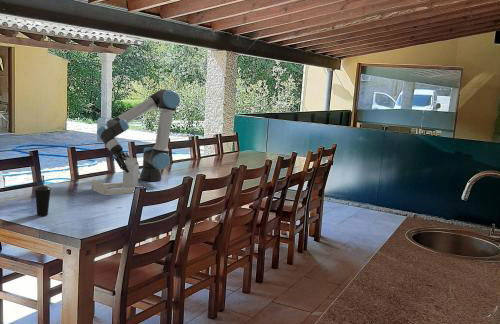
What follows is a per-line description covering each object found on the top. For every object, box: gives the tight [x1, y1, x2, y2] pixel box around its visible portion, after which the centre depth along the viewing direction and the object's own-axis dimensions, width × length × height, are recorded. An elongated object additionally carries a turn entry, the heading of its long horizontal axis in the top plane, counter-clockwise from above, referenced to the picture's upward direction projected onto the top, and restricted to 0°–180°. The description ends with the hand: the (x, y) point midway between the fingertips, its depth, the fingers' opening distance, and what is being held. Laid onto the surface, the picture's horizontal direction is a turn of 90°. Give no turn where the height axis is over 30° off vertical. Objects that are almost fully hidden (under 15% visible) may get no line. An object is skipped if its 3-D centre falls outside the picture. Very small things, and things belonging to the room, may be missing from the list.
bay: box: [91, 179, 146, 196], centre depth 314 cm, size 28×18×6 cm
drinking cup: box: [34, 175, 52, 217], centre depth 246 cm, size 8×8×20 cm
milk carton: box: [122, 157, 140, 188], centre depth 318 cm, size 7×7×19 cm
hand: (135, 175), depth 317 cm, fingers closed on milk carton, 8 cm apart
